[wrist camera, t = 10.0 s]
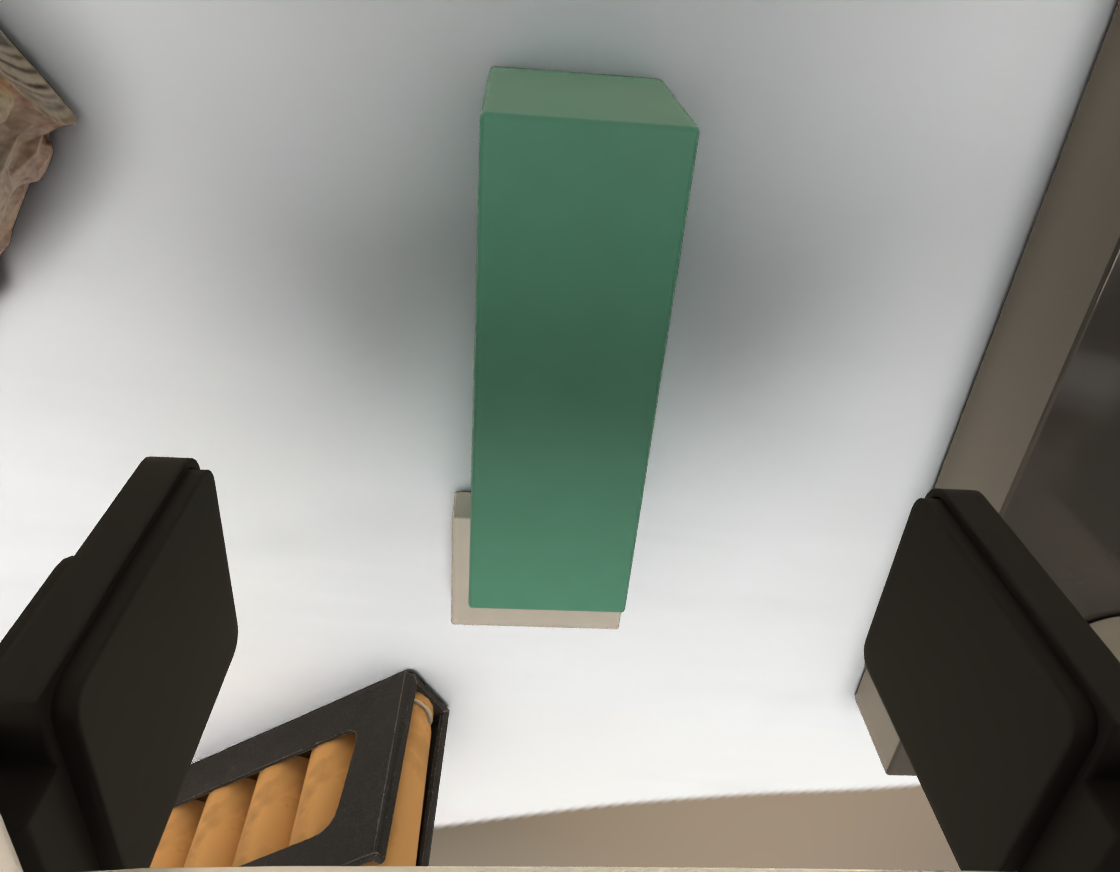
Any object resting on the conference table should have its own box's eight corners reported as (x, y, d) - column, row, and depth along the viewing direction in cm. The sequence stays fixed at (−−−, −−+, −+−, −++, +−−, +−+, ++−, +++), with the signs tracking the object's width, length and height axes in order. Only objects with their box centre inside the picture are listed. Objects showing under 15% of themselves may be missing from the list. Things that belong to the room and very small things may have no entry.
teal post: (691, 80, 15) (737, 130, 12) (614, 601, 21) (630, 725, 18) (460, 62, 15) (441, 109, 11) (454, 596, 21) (441, 721, 18)
